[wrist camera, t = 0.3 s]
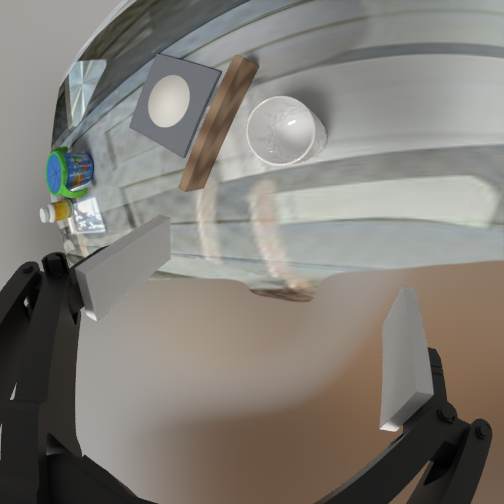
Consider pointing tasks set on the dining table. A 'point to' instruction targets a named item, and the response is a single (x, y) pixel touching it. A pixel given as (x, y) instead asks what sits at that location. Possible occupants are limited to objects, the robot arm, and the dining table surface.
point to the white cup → (285, 131)
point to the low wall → (217, 123)
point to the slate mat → (173, 102)
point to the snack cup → (68, 172)
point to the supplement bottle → (57, 211)
